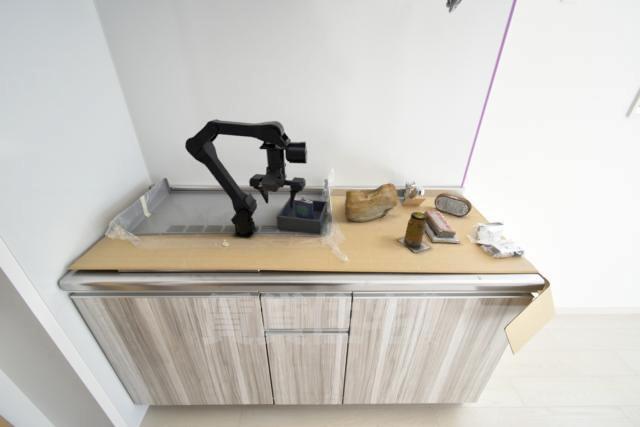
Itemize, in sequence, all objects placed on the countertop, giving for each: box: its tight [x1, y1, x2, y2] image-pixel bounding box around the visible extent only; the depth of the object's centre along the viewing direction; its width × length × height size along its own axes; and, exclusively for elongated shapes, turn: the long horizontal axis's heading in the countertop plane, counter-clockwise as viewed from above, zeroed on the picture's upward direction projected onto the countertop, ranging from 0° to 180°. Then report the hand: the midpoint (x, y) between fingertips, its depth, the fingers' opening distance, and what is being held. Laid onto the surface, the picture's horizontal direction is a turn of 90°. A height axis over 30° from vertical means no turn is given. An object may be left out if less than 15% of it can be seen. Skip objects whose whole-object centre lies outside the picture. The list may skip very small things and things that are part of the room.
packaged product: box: [423, 210, 461, 244], centre depth 96 cm, size 18×5×10 cm
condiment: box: [398, 211, 430, 253], centre depth 86 cm, size 7×8×12 cm
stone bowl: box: [343, 182, 399, 223], centre depth 106 cm, size 23×17×15 cm
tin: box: [434, 192, 473, 218], centre depth 109 cm, size 15×3×8 cm, turn 49°
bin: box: [275, 197, 329, 235], centre depth 101 cm, size 18×18×6 cm
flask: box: [293, 195, 313, 220], centre depth 100 cm, size 9×3×11 cm, turn 66°
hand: (279, 204), depth 87 cm, fingers open, 9 cm apart
